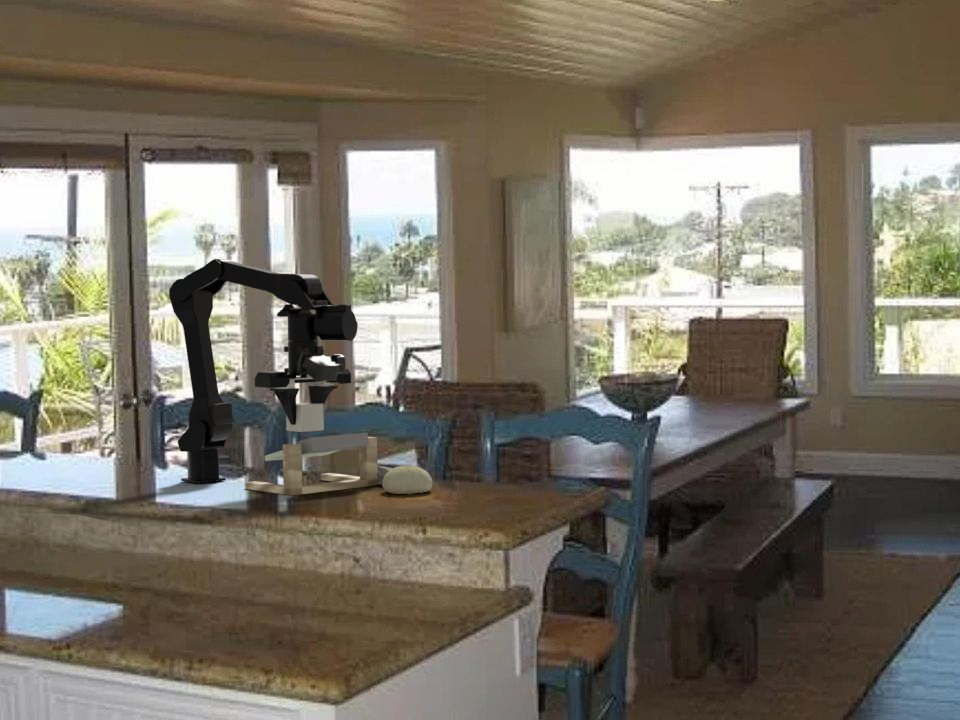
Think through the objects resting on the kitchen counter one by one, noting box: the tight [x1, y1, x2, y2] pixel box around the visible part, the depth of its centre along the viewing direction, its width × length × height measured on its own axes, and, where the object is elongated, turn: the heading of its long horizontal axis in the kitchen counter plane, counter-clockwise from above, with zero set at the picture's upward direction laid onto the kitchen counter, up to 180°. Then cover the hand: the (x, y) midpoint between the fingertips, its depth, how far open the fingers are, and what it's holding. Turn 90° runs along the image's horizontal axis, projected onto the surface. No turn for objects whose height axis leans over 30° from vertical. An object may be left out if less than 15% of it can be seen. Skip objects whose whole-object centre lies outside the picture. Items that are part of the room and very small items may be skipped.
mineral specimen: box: [377, 464, 394, 486], centre depth 294 cm, size 6×12×4 cm, turn 38°
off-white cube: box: [285, 402, 325, 433], centre depth 292 cm, size 5×5×5 cm
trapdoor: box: [264, 432, 369, 462], centre depth 290 cm, size 15×14×2 cm
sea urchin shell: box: [382, 465, 433, 495], centre depth 282 cm, size 9×8×8 cm
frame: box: [245, 436, 379, 496], centre depth 291 cm, size 15×20×9 cm
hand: (304, 423), depth 292 cm, fingers closed on off-white cube, 5 cm apart
